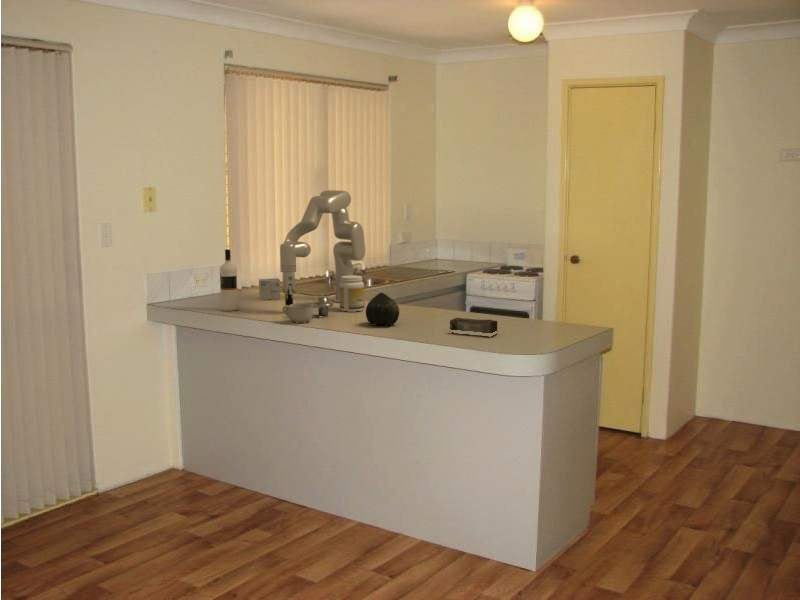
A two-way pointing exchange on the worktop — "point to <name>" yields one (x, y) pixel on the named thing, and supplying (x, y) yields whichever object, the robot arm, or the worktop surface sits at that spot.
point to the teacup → (299, 312)
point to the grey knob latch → (322, 305)
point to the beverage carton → (473, 325)
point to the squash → (382, 310)
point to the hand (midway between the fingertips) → (288, 306)
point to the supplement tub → (351, 293)
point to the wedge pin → (285, 299)
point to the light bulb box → (269, 289)
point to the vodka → (228, 285)
